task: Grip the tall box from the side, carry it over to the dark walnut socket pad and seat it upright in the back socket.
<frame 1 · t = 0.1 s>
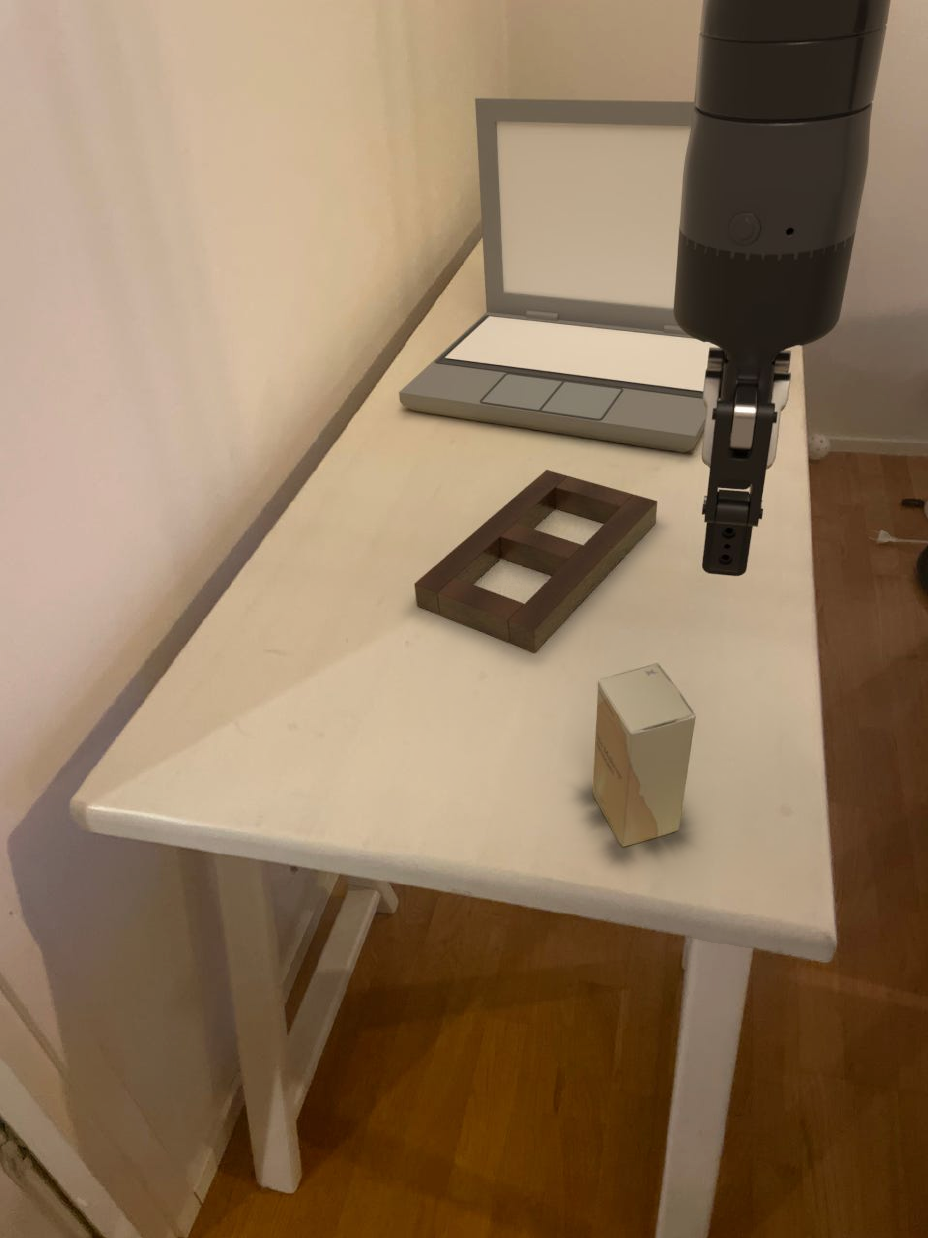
hand: (727, 525, 52), 21 cm above the table, tool pointing down, fingers open, 8 cm apart
box: (636, 814, 63), on the table
socket pad: (541, 562, 86), on the table
laptop: (578, 385, 114), on the table
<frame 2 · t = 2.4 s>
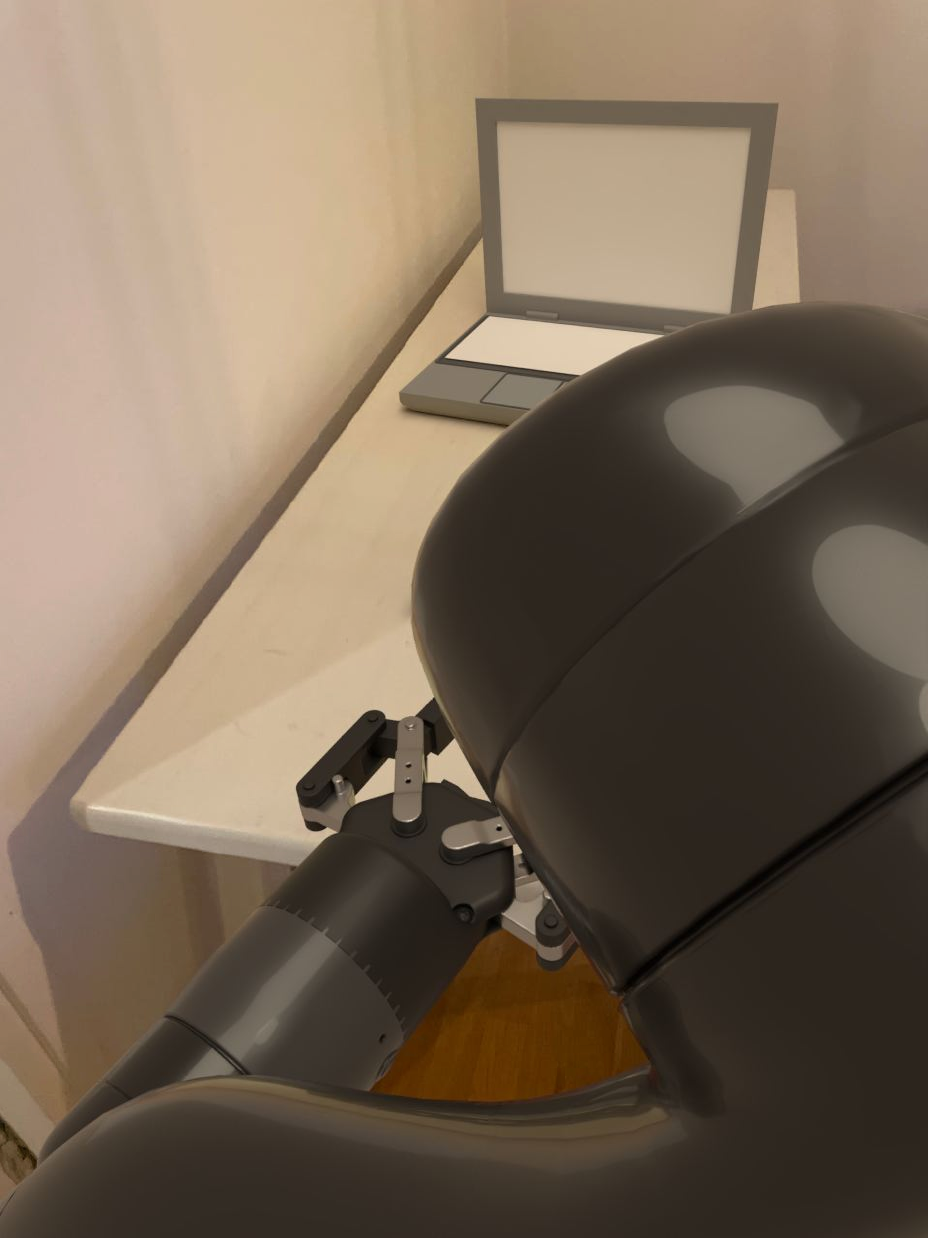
hand: (546, 724, 45), 18 cm above the table, tool horizontal, fingers open, 8 cm apart
nothing on the table moved.
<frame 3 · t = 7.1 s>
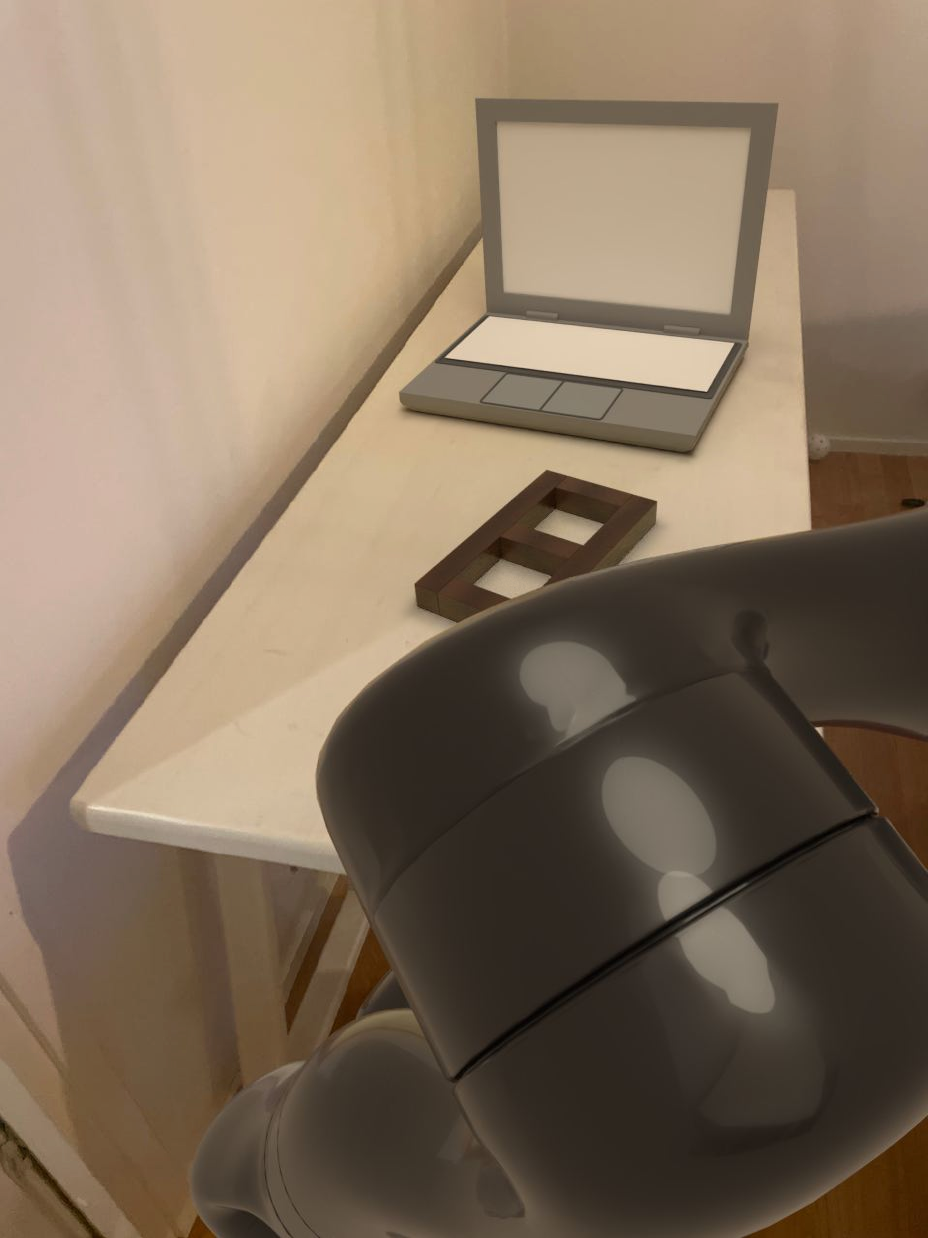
hand: (657, 723, 61), 6 cm above the table, tool horizontal, fingers closed on box, 6 cm apart
box: (636, 814, 63), on the table, touching gripper
everything else where it was.
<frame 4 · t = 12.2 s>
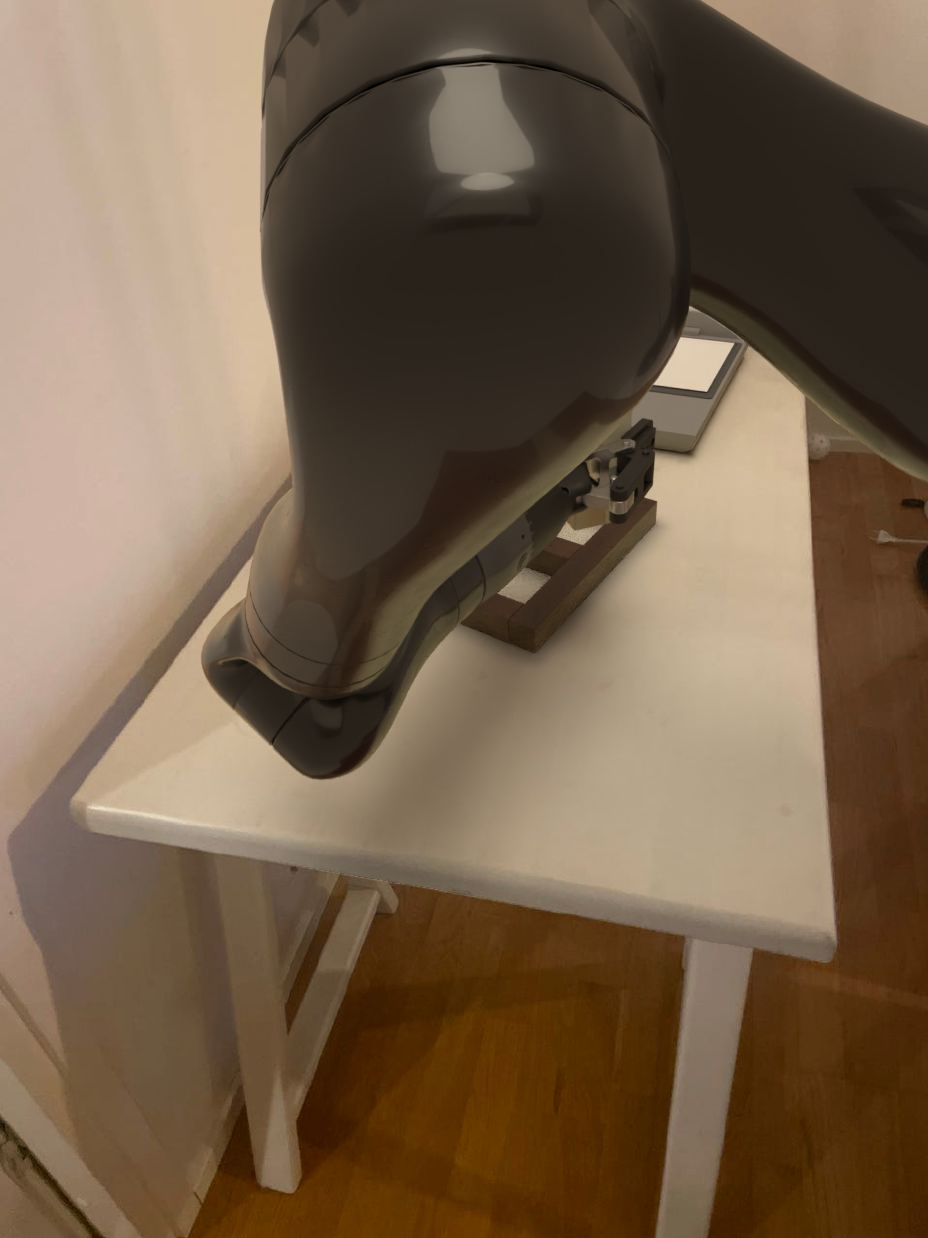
hand: (604, 420, 69), 18 cm above the table, tool horizontal, fingers closed on box, 6 cm apart
box: (587, 512, 72), point 11 cm above the table, touching gripper
everything else where it was.
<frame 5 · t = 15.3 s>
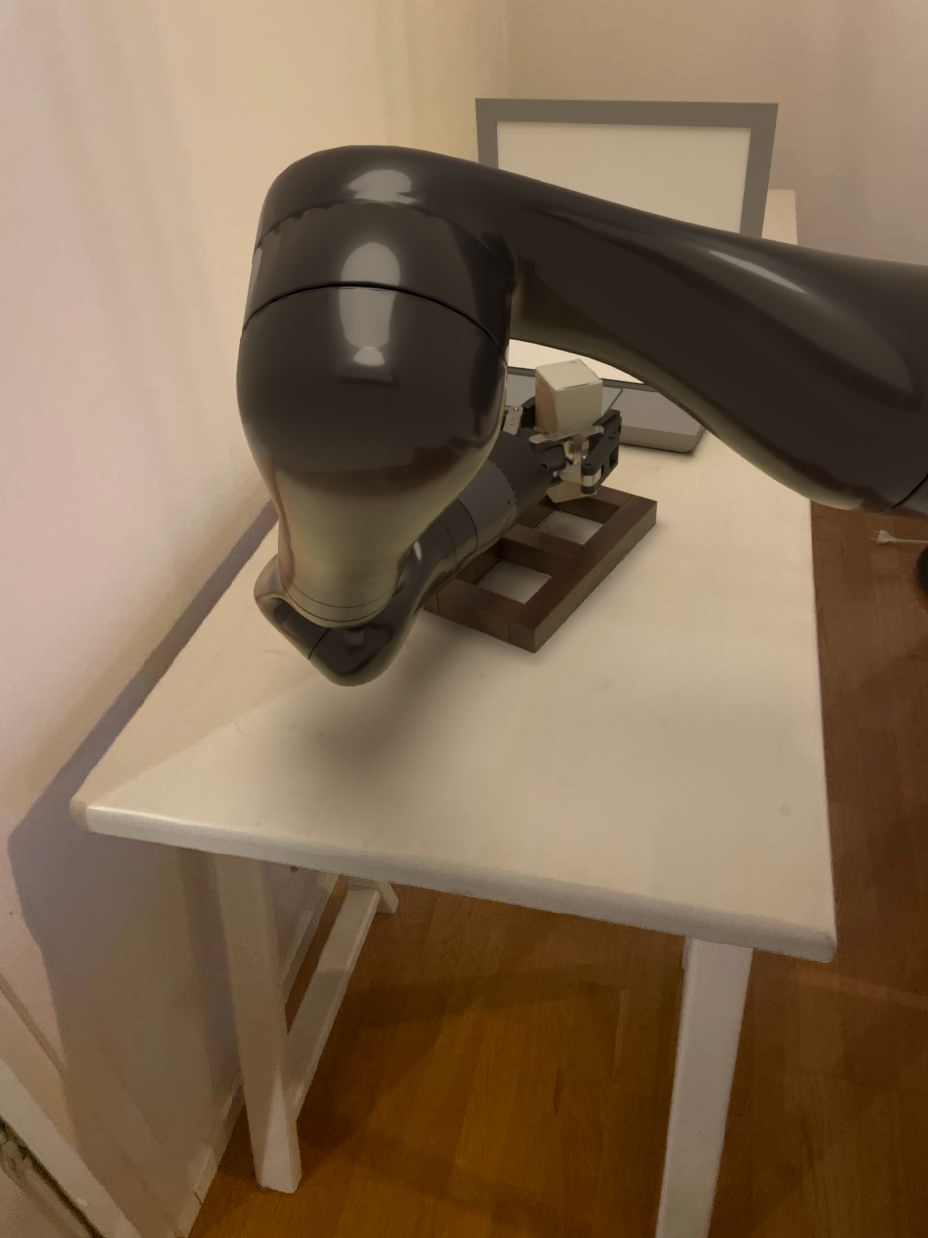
hand: (580, 410, 83), 12 cm above the table, tool horizontal, fingers closed on box, 6 cm apart
box: (566, 488, 85), point 5 cm above the table, touching gripper
everything else where it was.
when the fingers open (6 cm above the table, at t = 17.5 s): box stays where it is, resting in socket pad.
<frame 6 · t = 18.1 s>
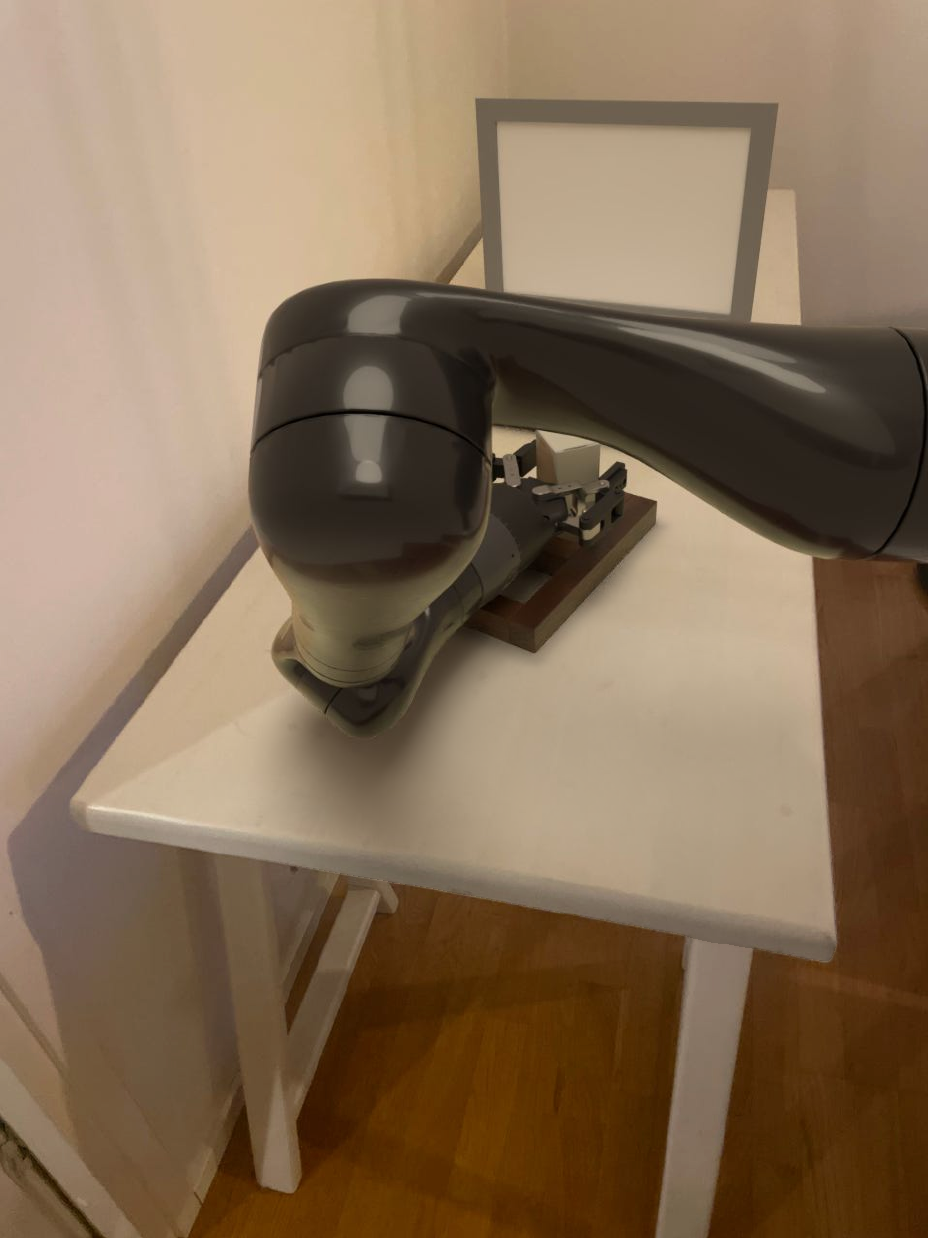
hand: (579, 459, 85), 7 cm above the table, tool horizontal, fingers open, 8 cm apart
box: (566, 539, 89), resting in socket pad
everything else where it was.
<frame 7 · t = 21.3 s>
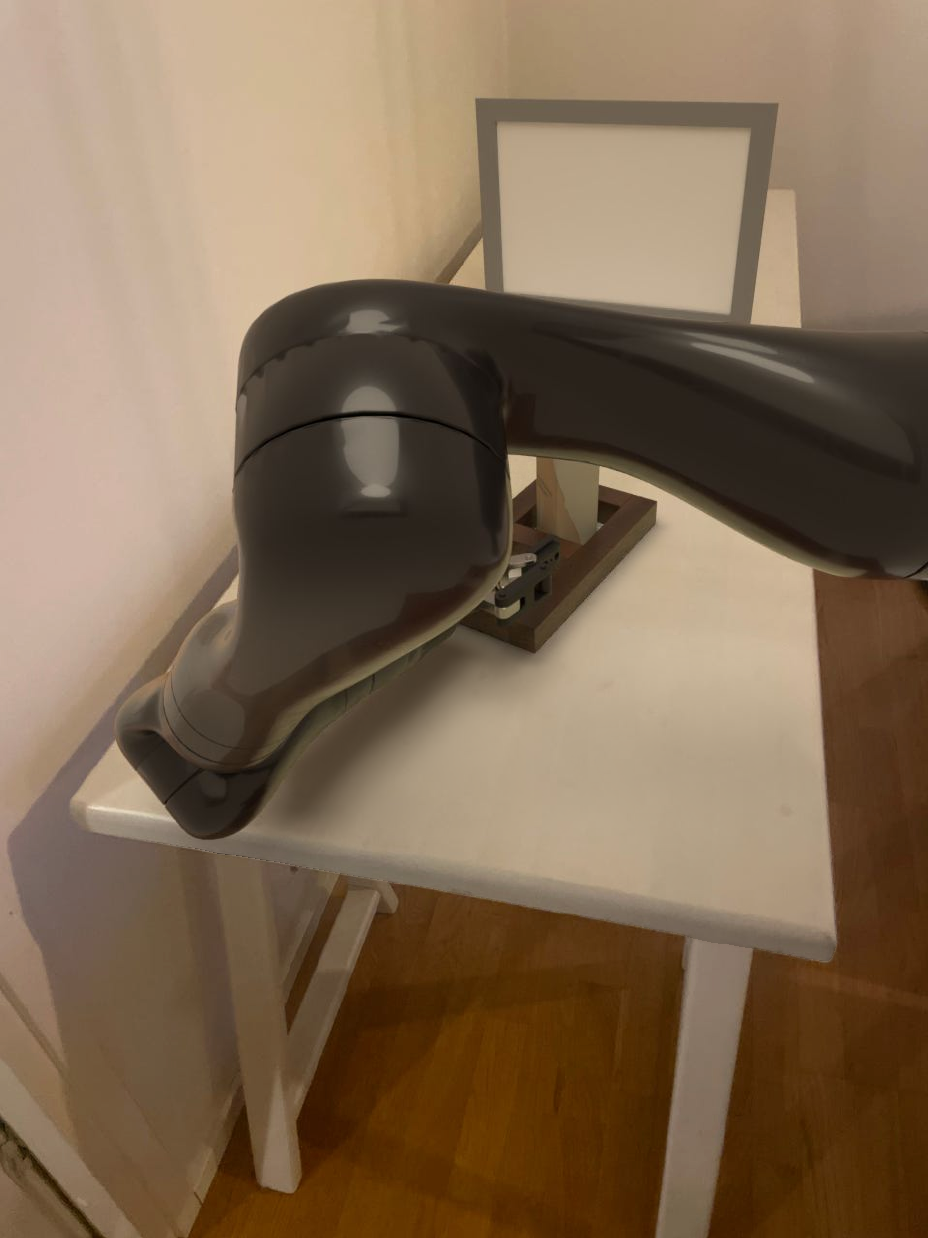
hand: (512, 530, 78), 7 cm above the table, tool horizontal, fingers open, 8 cm apart
nothing on the table moved.
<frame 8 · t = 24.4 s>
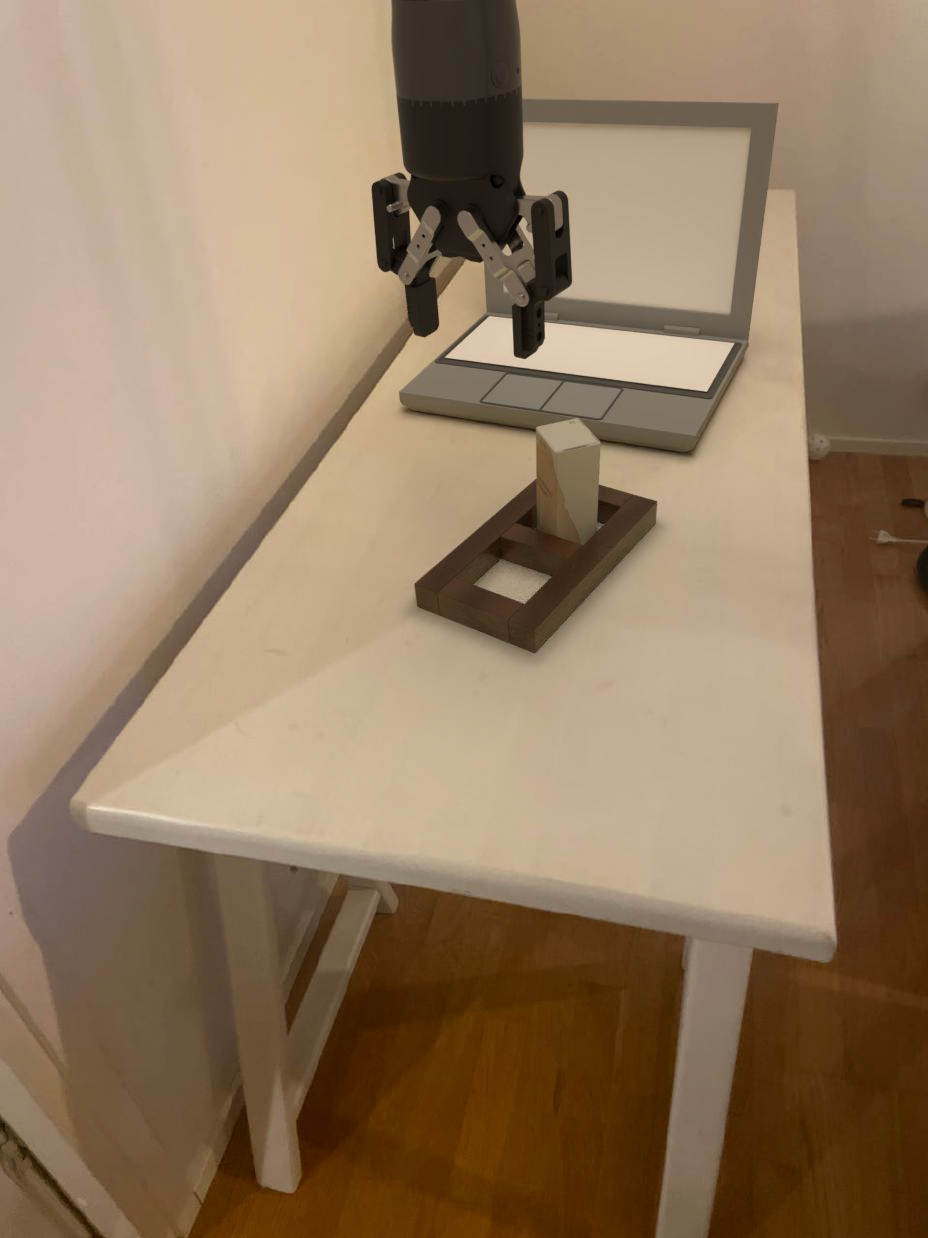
hand: (475, 343, 66), 24 cm above the table, tool pointing down, fingers open, 8 cm apart
nothing on the table moved.
at the end: box 0.2 cm from the target spot in the socket pad, point 0.0 cm above the socket pad's base; box tilted 0°; the gripper is holding nothing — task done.
